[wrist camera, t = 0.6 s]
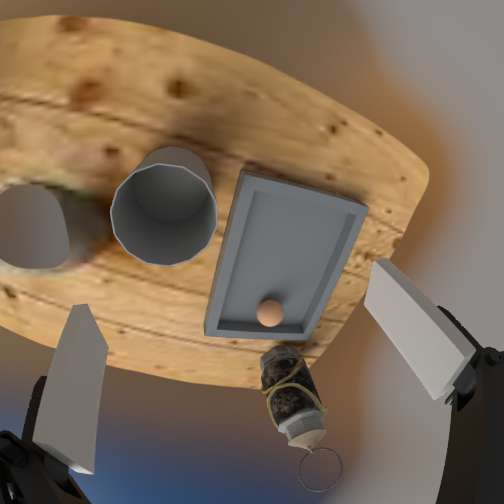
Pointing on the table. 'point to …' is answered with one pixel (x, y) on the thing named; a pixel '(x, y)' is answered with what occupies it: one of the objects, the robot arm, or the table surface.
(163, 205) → the cup
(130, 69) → the table surface
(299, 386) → the lantern
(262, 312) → the ball
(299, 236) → the tray
